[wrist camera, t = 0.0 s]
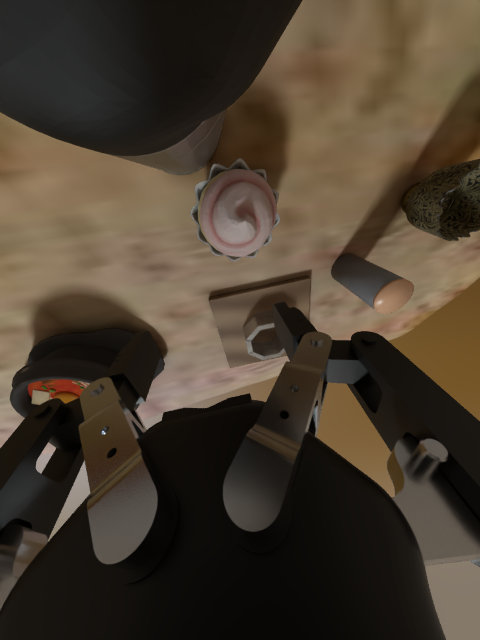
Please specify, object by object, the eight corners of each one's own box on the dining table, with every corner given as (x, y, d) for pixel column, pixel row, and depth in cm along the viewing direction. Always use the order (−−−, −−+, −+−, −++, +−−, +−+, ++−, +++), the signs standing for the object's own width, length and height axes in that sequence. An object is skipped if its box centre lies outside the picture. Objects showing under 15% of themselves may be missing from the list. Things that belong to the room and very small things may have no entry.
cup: (417, 230, 28) (479, 244, 22) (374, 225, 27) (425, 239, 21) (454, 166, 24) (543, 160, 18) (404, 157, 23) (481, 147, 17)
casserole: (109, 296, 28) (78, 332, 21) (187, 366, 39) (182, 405, 32) (-4, 365, 32) (-60, 413, 26) (93, 411, 43) (72, 454, 36)
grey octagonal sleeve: (240, 316, 32) (243, 329, 29) (285, 306, 32) (292, 318, 29) (247, 349, 36) (250, 363, 34) (286, 340, 36) (292, 353, 34)
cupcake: (284, 199, 24) (322, 207, 16) (241, 262, 28) (254, 294, 20) (219, 139, 20) (226, 109, 12) (180, 222, 24) (165, 242, 16)
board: (208, 297, 30) (208, 300, 29) (307, 275, 30) (310, 278, 30) (229, 364, 40) (230, 368, 39) (305, 347, 40) (307, 350, 39)
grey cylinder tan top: (332, 256, 29) (380, 285, 21) (361, 250, 29) (419, 276, 21) (329, 283, 32) (371, 317, 24) (355, 277, 32) (406, 309, 24)
